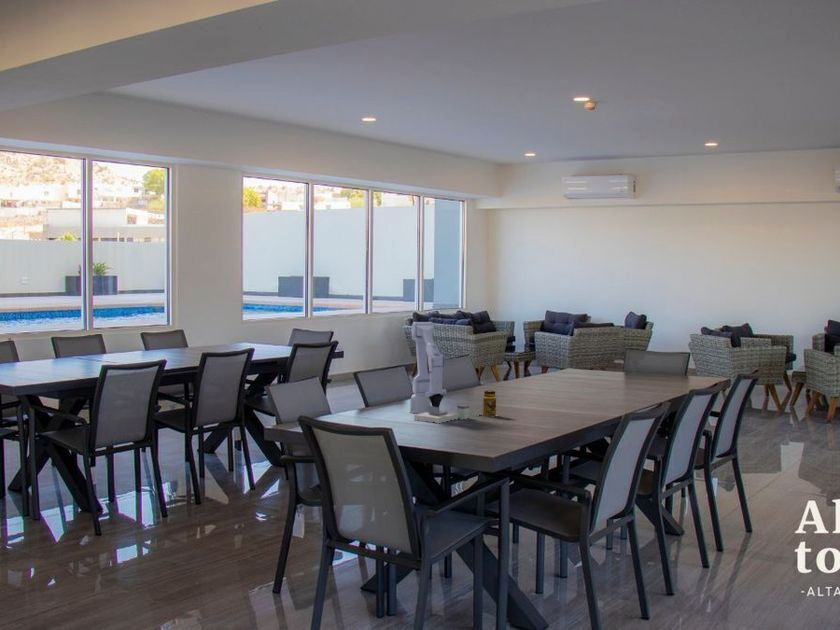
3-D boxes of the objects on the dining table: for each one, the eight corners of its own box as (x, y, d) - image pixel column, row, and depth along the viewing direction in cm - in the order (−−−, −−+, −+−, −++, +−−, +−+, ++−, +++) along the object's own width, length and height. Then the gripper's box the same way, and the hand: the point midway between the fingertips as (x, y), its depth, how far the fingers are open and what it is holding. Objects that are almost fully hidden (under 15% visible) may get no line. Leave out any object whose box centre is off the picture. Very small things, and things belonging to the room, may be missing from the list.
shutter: (427, 413, 388) (427, 406, 388) (436, 411, 394) (436, 404, 394) (438, 415, 385) (438, 407, 385) (447, 413, 391) (447, 405, 391)
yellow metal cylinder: (492, 417, 396) (493, 392, 395) (476, 416, 400) (476, 391, 399) (499, 415, 402) (499, 390, 402) (483, 414, 406) (483, 389, 406)
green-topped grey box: (457, 418, 392) (457, 405, 392) (461, 417, 396) (461, 404, 395) (464, 419, 390) (464, 406, 390) (468, 418, 393) (469, 405, 393)
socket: (414, 420, 387) (414, 414, 387) (434, 415, 400) (434, 410, 400) (439, 423, 379) (439, 418, 379) (458, 418, 392) (458, 413, 392)
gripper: (434, 383, 379) (433, 413, 380) (452, 380, 391) (451, 409, 392) (421, 382, 384) (421, 411, 384) (439, 379, 395) (439, 408, 396)
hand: (435, 410), depth 388 cm, fingers closed
